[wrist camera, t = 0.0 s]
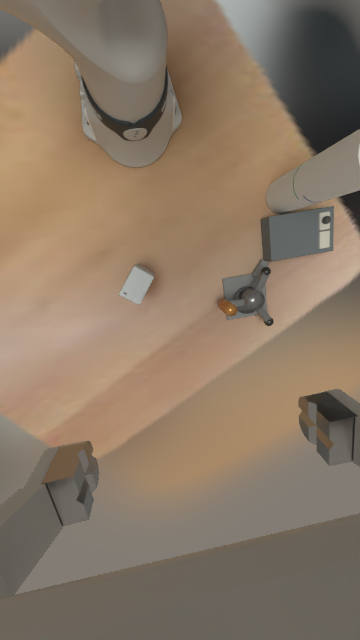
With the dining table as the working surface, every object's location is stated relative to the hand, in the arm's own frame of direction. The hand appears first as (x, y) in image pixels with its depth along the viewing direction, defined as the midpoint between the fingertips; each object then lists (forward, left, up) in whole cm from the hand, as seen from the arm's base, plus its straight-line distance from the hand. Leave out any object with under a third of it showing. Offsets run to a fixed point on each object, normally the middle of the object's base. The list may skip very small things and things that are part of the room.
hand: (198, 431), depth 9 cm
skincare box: (-2, -5, -48) cm, 48 cm away
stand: (+1, +26, -48) cm, 55 cm away
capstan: (+6, +17, -47) cm, 51 cm away
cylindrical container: (-14, +29, -48) cm, 58 cm away
